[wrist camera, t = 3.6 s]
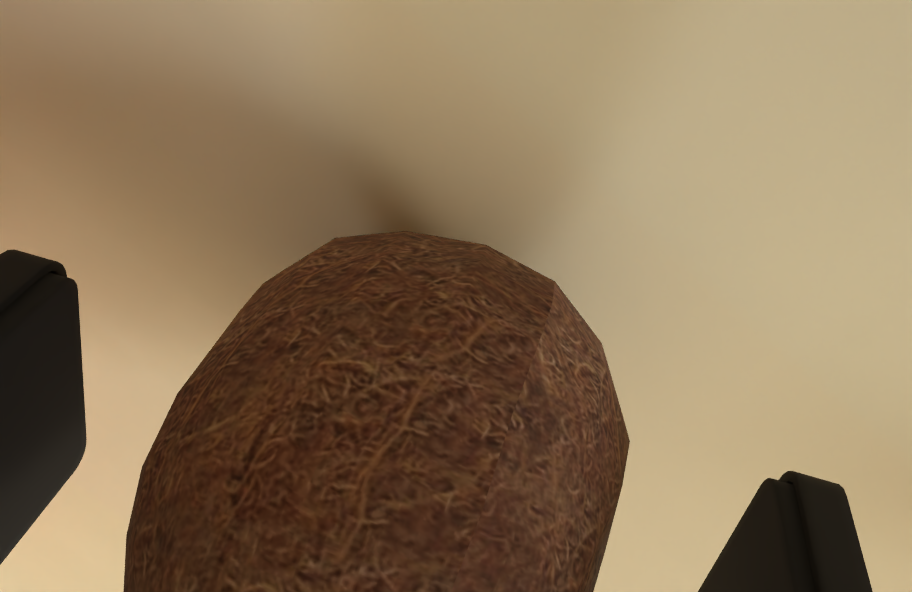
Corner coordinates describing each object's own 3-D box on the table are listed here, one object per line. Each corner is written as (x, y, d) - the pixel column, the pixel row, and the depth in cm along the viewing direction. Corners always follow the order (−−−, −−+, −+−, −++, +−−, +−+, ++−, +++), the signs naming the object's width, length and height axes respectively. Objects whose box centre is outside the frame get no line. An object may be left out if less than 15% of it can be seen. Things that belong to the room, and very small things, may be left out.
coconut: (320, 415, 15) (57, 950, 8) (266, 139, 12) (-192, 603, 6) (627, 436, 14) (607, 1066, 7) (641, 140, 11) (629, 712, 5)
